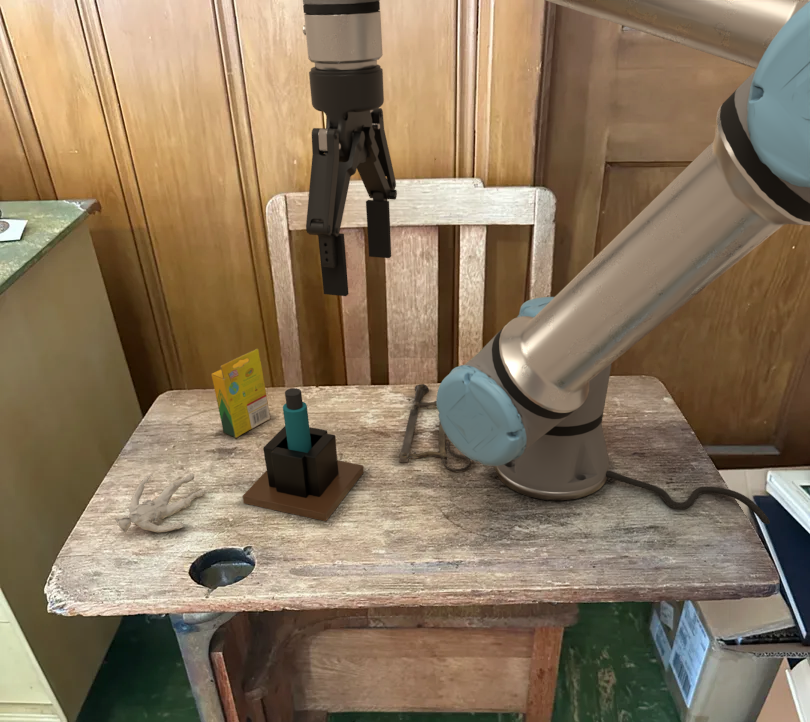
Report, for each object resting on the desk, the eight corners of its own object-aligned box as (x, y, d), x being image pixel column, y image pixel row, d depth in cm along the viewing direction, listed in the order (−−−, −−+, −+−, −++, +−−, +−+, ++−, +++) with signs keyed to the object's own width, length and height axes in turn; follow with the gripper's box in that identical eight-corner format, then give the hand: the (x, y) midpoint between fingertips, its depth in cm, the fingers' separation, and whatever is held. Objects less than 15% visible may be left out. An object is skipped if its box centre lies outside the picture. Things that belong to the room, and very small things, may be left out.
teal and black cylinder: (319, 476, 102) (309, 388, 94) (308, 488, 100) (298, 398, 92) (299, 472, 103) (287, 384, 95) (288, 483, 100) (276, 395, 92)
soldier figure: (219, 510, 100) (156, 536, 89) (197, 527, 102) (133, 555, 92) (186, 460, 100) (119, 481, 89) (165, 479, 102) (97, 501, 92)
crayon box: (258, 413, 118) (247, 343, 111) (271, 419, 117) (261, 347, 110) (221, 432, 114) (207, 360, 107) (235, 438, 112) (221, 366, 105)
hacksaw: (415, 389, 124) (415, 381, 123) (478, 391, 122) (479, 383, 121) (395, 469, 105) (395, 460, 104) (470, 473, 104) (470, 464, 103)
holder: (364, 472, 104) (360, 426, 100) (326, 521, 96) (321, 473, 91) (286, 457, 108) (280, 412, 104) (243, 503, 99) (234, 456, 95)
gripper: (358, 50, 87) (369, 241, 100) (252, 80, 69) (283, 309, 82) (420, 50, 85) (423, 245, 98) (328, 81, 67) (347, 316, 80)
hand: (359, 274), depth 90 cm, fingers open, 13 cm apart
